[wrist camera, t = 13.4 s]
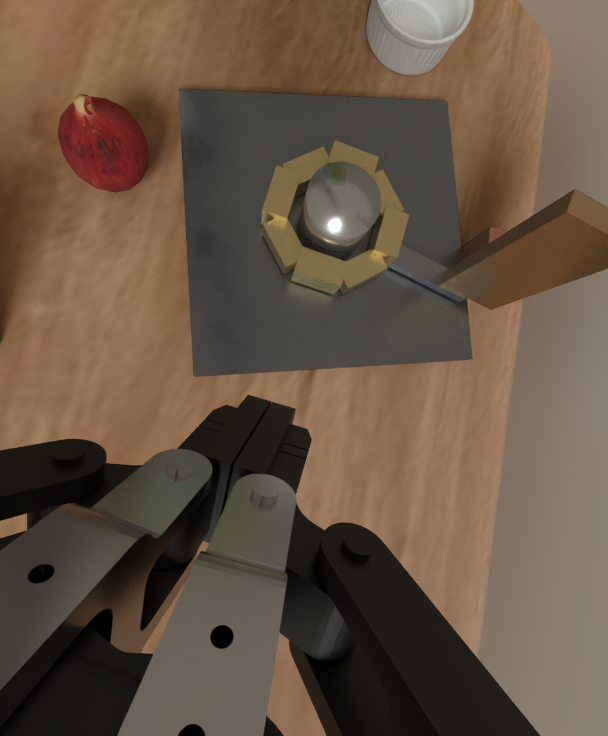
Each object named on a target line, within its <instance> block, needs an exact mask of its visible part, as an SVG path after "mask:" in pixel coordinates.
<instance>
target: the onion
mask: <svg viewBox="0 0 608 736" xmlns="http://www.w3.org/2000/svg"><path fill="white" fill-rule="evenodd" d="M58 138H59V141H60V145H61V148H62V152H63V155H64V157H65V159H66V160H67V162H68V163H69V165H70V166H71V168H72V169H73V170H74V172H75V173H76V174H77V175H78V176H79V177H80V178H81V179H83V180H84V181H86V182H87V183H89V184H90V185H92V186H94V187H95V188H98V189H102V190H107V191H111V192H120V191H125V190H130V189H131V188H132V187H134V186H135V185H136V184H137V183H139V182H140V181H141V180H142V178H143V176H144V174H145V171H146V169H147V167H148V156H149V151H148V145H147V142H146V139H145V136H144V133H143V131H142V129H141V127H140V126H139V124H138V123H137V122H136V120H135V119H134V118H133V117H132V115H131V114H130V113H129V112H128V111H127V110H126V109H125V108H124V107H122V106H120V105H118V104H116V103H114V102H112V101H110V100H108V99H105V98H98V97H90V96H88V95H83V94H78V96H77V98H76V99H75V100H74V101H73V103H72V104H70V105H69V106H68V108H67V109H66V110H65V111H64V113H63V114H62V115H61V117H60V123H59V129H58Z"/></svg>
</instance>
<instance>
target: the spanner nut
mask: <svg viewBox="0 0 608 736" xmlns="http://www.w3.org/2000/svg"><path fill="white" fill-rule="evenodd" d="M378 159H379V157H378V156H375V155H372V154H370V153H367V152H365V151H362V150H359V149H357V148H354V147H352V146H349V145H347V144H344V143H341V142H339V141H336V140H335V141H334V144H333V147H332V150H331V152H330V155H329V156H328V154H327V153H326V151H325V149H324V147H321V148H319V149H316V150H314V151H312V152H309V153H307V154H305V155H302V156H300V157H298V158H295V159H293V160H291V161H289V162H286V163H284V164H282V167H281V166H278V165H277V166H276V169H275V172H274V175H273V178H272V181H271V184H270V187H269V190H268V193H267V196H266V199H265V203H264V206H263V209H262V220H261V225H263V228H262V235H263V237H264V238H265V240H266V242H267V244H268V246H269V248H270V250H271V252H272V253H273V255H274V257H275V259H276V261H277V263H278V265H279V267H280V268H281V270H282V272H283V274H285V273H288V272H290V271H292V270H294V272H293V275H292V278H291V281H294V282H297V283H300V284H303V285H306V286H309V287H312V288H315V289H318V290H321V291H324V292H327V293H330V294H333V295H334V294H335V293H336V292H337V291H338V289H339V288H340V290H341V292H342V294H344V293H346V292H348V291H350V290H352V289H354V288H356V287H358V286H360V285H362V284H364V283H366V282H368V281H370V280H372V279H374V278H376V277H378V276H380V275H381V274H382V273H383V272H385V271H386V270H387V269H388V267H390V268H392V269H394V270H396V271H398V272H400V273H402V274H404V275H406V276H408V277H410V278H412V279H414V280H416V281H418V282H420V283H422V284H424V285H426V286H428V287H430V288H432V289H434V290H436V291H438V292H440V293H442V294H444V295H446V296H448V297H450V298H451V299H453V300H455V301H457V302H460V301H462V300H465V298H468V299H470V300H472V301H474V302H476V303H478V304H480V305H482V306H484V307H486V308H488V309H490V310H492V309H495V308H498V307H500V306H503V305H506V304H509V303H512V302H515V301H517V300H520V299H523V298H526V297H529V296H532V295H534V294H537V293H540V292H543V291H545V290H549V289H551V288H554V287H557V286H560V285H563V284H566V283H568V282H571V281H574V280H577V279H580V278H583V277H585V276H588V275H591V274H594V273H596V272H600V271H602V270H605V269H608V207H607V206H605V205H603V204H602V203H600V202H598V201H596V200H594V199H593V198H591V197H589V196H587V195H585V194H584V193H582V192H580V191H578V190H576V189H574V190H573V191H571V192H569V193H568V194H566V195H565V196H563V197H561V198H560V199H558V200H557V201H555V202H554V203H552V204H550V205H549V206H547V207H546V208H544V209H542V210H541V211H539V212H538V213H536V214H535V215H533V216H531V217H530V218H528V219H527V220H525V221H524V222H522V223H520V224H519V225H517V226H516V227H514V228H512V229H511V230H509V231H508V232H506V233H505V234H503V235H501V236H500V237H498V238H497V239H495V240H493V241H492V242H490V243H489V244H487V245H486V246H484V247H482V248H481V249H479V250H478V251H476V252H474V253H473V254H471V255H470V256H468V257H467V258H465V259H463V260H462V261H460V262H459V263H457V264H455V265H454V266H452V267H451V268H449V269H448V268H446V267H444V266H442V265H440V264H438V263H436V262H434V261H433V260H431V259H429V258H427V257H425V256H423V255H421V254H419V253H417V252H415V251H413V250H411V249H409V248H407V247H405V246H403V245H401V243H402V240H403V236H404V232H405V229H406V225H407V222H408V218H409V214H407V213H404V212H403V211H404V208H403V206H402V205H401V203H400V201H399V199H398V197H397V195H396V193H395V191H394V189H393V188H392V186H391V184H390V182H389V180H388V178H387V176H386V174H385V173H384V171H383V169H382V170H380V171H378V172H376V173H374V172H375V169H376V166H377V162H378ZM333 162H349V163H353V164H356V165H358V166H360V167H362V168H363V169H365V170H366V171H367V172H368V173H369V174H370V175H371V176H372V177H373V178H374V180H375V181H376V183H377V185H378V187H379V190H380V193H381V210H380V213H379V216H378V218H377V220H376V221H375V223H374V229H373V232H372V236H371V239H370V243H369V246H368V250H367V251H366V252H364V253H362V254H360V255H358V256H356V257H354V258H352V259H350V260H348V261H343V260H340V259H337V258H334V257H331V256H329V255H326V254H323V253H320V252H317V251H314V250H311V249H309V248H306V247H303V246H302V244H301V242H300V241H299V239H298V237H297V235H296V233H295V231H294V229H293V227H292V226H291V224H290V222H289V220H288V219H289V216H290V213H291V209H292V206H293V203H294V200H295V197H296V196H297V195H299V194H302V193H304V192H306V191H307V188H308V184H309V182H310V180H311V178H312V176H313V175H314V174H315V172H316V171H318V170H319V169H320V168H321V167H323V166H325V165H327V164H329V163H333Z"/></svg>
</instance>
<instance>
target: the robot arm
mask: <svg viewBox="0 0 608 736" xmlns="http://www.w3.org/2000/svg"><path fill="white" fill-rule="evenodd" d="M295 410H296V409H294V408H291V407H288V406H284V405H281V404H278V403H274V402H272V404H271V401H268V400H264V399H261V398H258V397H254V396H251V395H247V397H246V398H245V399H244V400H243V402H242V403H241V404H240V405H239V407H238V408H236V407H232V406H229V405H225V406H223V407H220V408H217V409H215V410H213V411H212V412H211V413H210V414H209V415H208V417H207V418H206V419H205V420H204V421H203V422H202V423H201V424H200V425H199V427H197V428H196V429H195V430H194V431H193V432H192V434H191V435H190V436H189V437H188V438H187V439H186V440H185V441H184V442H183V443H182V444H181V445H180V446H179V447H178V448H177V449H172V450H166V451H163V452H160V453H158V454H156V455H154V456H153V457H152V458H150V459H149V460H148V461H147V462H146V463H144V464H143V465H121V464H110V463H106V452H105V450H104V449H103V447H101V446H100V445H98V444H97V443H94V442H92V441H88V440H82V439H65V440H58V441H52V442H46V443H41V444H35V445H29V446H24V447H18V448H12V449H6V450H1V451H0V521H1V520H5V519H8V518H12V517H15V516H19V515H23V514H26V513H27V531H24V532H20V533H17V534H14V535H10V536H7V537H4V538H0V736H284V735H283V734H282V733H281V731H280V730H279V729H278V728H277V726H276V725H275V724H274V723H273V722H272V721H271V720H270V719H269V718H268V717H267V716H266V715H267V708H268V702H269V695H270V689H271V682H272V676H273V669H274V663H275V656H276V650H277V643H278V637H279V632H280V633H281V634H282V635H284V636H285V637H286V638H287V639H289V646H290V651H291V654H292V657H293V659H294V662H295V664H296V666H297V669H298V671H299V673H300V675H301V678H302V680H303V682H304V685H305V687H306V689H307V692H308V694H309V696H310V698H311V701H312V703H313V705H314V708H315V710H316V712H317V714H318V717H319V719H320V721H321V724H322V726H323V728H324V731H325V733H326V735H327V736H540V735H539V734H538V732H537V731H536V730H535V729H534V727H533V726H532V725H531V724H530V723H529V721H528V720H527V719H526V718H525V716H524V715H523V714H522V713H521V712H520V710H519V709H518V708H517V706H516V705H515V704H514V703H513V702H512V700H511V699H510V698H509V697H508V695H507V694H506V693H505V692H504V691H503V689H502V688H501V687H500V686H499V684H498V683H497V682H496V681H495V679H494V678H493V677H492V676H491V675H490V673H489V672H488V671H487V670H486V668H485V667H484V666H483V665H482V663H481V662H480V661H479V660H478V658H477V657H476V656H475V655H474V653H473V652H472V651H471V650H470V649H469V647H468V646H467V645H466V644H465V642H464V641H463V640H462V639H461V637H460V636H459V635H458V634H457V633H456V631H455V630H454V629H453V628H452V626H451V625H450V624H449V623H448V621H447V620H446V619H445V618H444V617H443V615H442V614H441V613H440V612H439V610H438V609H437V608H436V607H435V605H434V604H433V603H432V602H431V601H430V599H429V598H428V597H427V596H426V594H425V593H424V592H423V591H422V589H421V588H420V587H419V586H418V585H417V583H416V582H415V581H414V580H413V578H412V577H411V576H410V575H409V573H408V572H407V571H406V570H405V569H404V567H403V566H402V565H401V564H400V562H399V561H398V560H397V559H396V557H395V556H394V555H393V554H392V553H391V551H390V550H389V549H388V548H387V546H386V545H385V544H384V543H383V541H382V540H381V539H380V538H379V537H378V536H376V535H375V534H374V533H373V532H371V531H370V530H368V529H366V528H364V527H362V526H360V525H357V524H353V523H336V524H333V525H331V526H329V527H328V528H327V529H326V530H323V529H322V528H320V527H318V526H317V525H315V524H314V523H312V522H311V521H309V520H308V519H307V518H306V517H305V516H304V515H303V514H302V512H301V511H300V509H299V508H298V506H297V503H296V493H297V489H298V486H299V482H300V479H301V475H302V472H303V468H304V465H305V461H306V458H307V454H308V451H309V447H310V444H311V440H312V439H311V437H310V434H309V432H308V429H305V428H302V427H299V426H295V425H292V423H293V419H294V415H295ZM202 541H205V542H208V543H209V545H208V548H207V550H206V552H204V551H201V552H200V553H199V555H198V557H197V558H196V556H197V551H198V548H199V546H200V545H201V543H202ZM185 582H186V583H185ZM184 583H185V585H184ZM183 585H184V587H183V589H182V592H181V594H180V596H179V598H178V601H177V603H176V605H175V607H174V610H173V612H172V614H171V616H170V619H169V621H168V623H167V625H166V628H165V630H164V632H163V634H162V636H161V639H160V641H159V643H158V645H157V648H156V650H155V652H154V654H144V653H141V651H142V649H143V647H144V645H145V644H146V642H147V640H148V639H149V637H150V636H151V634H152V633H153V631H154V630H155V628H156V626H157V625H158V623H159V622H160V620H161V619H162V617H163V616H164V614H165V613H166V611H167V609H168V608H169V606H170V605H171V603H172V602H173V600H174V599H175V597H176V596H177V594H178V592H179V591H180V589H181V588H182V586H183Z"/></svg>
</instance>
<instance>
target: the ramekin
mask: <svg viewBox="0 0 608 736" xmlns="http://www.w3.org/2000/svg"><path fill="white" fill-rule="evenodd" d="M472 11H473V0H372V1H371V5H370V9H369V13H368V18H367V28H366V33H367V38H368V42H369V45H370V47H371V50H372V51H373V53H374V55H375V56H376V57H377V59H378V60H379V61H380V62H381V63H382V64H383V65H384V66H386V67H387V68H389V69H390V70H392V71H394V72H397V73H400V74H404V75H419V74H423V73H426V72H428V71H430V70H431V69H433V68H434V67H435V66H436V65H437V64H438V63H439V62H440V60H441V59H442V58H443V56H444V55H445V53H446V52H447V50H448V49H449V48H450V46H451V45H452V43H453V42H454V40H455V39H456V38H458V37H459V36H460V34H461V33H462V32H463V31H464V29H465V28H466V26H467V25H468V23H469V21H470V19H471V15H472Z"/></svg>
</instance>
